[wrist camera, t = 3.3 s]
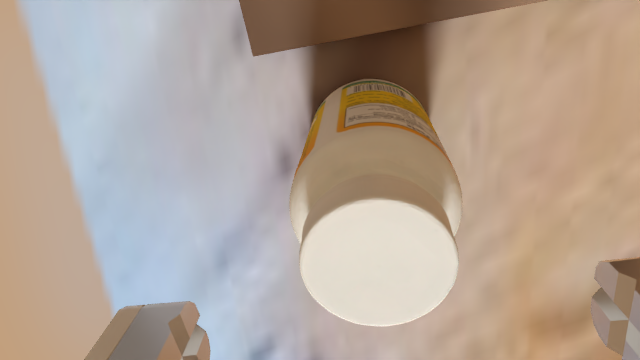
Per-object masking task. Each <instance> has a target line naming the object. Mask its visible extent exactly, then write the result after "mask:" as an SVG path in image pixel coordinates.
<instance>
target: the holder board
mask: <svg viewBox="0 0 640 360" xmlns="http://www.w3.org/2000/svg"><path fill="white" fill-rule="evenodd" d="M542 1H547V0H239V2H240V6H241V10H242V14H243V18H244V21H245V25H246V29H247V33H248V37H249V41H250V45H251V49H252V53H253V56H258V55H264V54H269V53H274V52H279V51H284V50H290V49H295V48H300V47H305V46H311V45H316V44H321V43H326V42H332V41H337V40H342V39H347V38H353V37H358V36H363V35H368V34H374V33H379V32H384V31H389V30H395V29H400V28H405V27H410V26H416V25H421V24H426V23H431V22H437V21H442V20H447V19H452V18H458V17H463V16H468V15H473V14H479V13H484V12H489V11H494V10H500V9H505V8H510V7H515V6H521V5H526V4H531V3H536V2H542Z"/></svg>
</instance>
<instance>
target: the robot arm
mask: <svg viewBox="0 0 640 360" xmlns="http://www.w3.org/2000/svg"><path fill="white" fill-rule="evenodd" d="M594 279H595V280H596V281H597V282H598V284H599V285H600V286H601V288H600V289H599V290H598V291H597V292H596V293H595V294H594V295H593V296H592V302H591V314H592V318H593V323H594V326H595V328H596V330H597V332H598V335H599V336H600V338H601V339H602V341H603V342H604V344H605V345H606V347H608V348H610V349H611V350H613V351H615V352H617V353H618V354H620V355H622V356H623V358H622V360H640V257H635V258H625V259H615V260H606V261H600V262H599V263H598V265H597V267H596V270H595V277H594ZM199 316H200V315H199V312H198V310H197V308H196V305H195V303H192V302H190V301H186V302H172V303H159V304H147V305H137V306H126V307H124V308H122V309H120V310H119V311H118V312H117V314H116V315H115V317H114V318H113V319H112V321H111V322H110V324H109V325H108V327H107V328H106V329H105V331H104V332H103V334H102V335H101V336H100V338H99V339H98V341H97V342H96V344H95V345H94V346H93V348H92V349H91V351H90V352H89V353H88V355H87V356H86V358H85V359H84V360H210V345H209V339H208V336H207V333H206V331H205V330H204V329H202V328H201V327H200V326H198V325H197V324H196V323H197V321H198V319H199Z"/></svg>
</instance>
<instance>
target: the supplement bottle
mask: <svg viewBox="0 0 640 360" xmlns="http://www.w3.org/2000/svg"><path fill="white" fill-rule="evenodd" d="M461 216H462V193H461V188H460V184H459V181H458V178H457V175H456V173H455V170H454V168H453V166H452V164H451V162H450V160H449V158H448V156H447V154H446V152H445V150H444V148H443V146H442V144H441V142H440V140H439V138H438V136H437V134H436V132H435V130H434V128H433V126H432V124H431V122H430V120H429V117H428V115H427V114H426V112H425V110H424V108H423V107H422V105H421V103H420V102H419V101H418V100H417V99H416V98H415V96H413V95H412V94H411V93H410V92H409V91H408V90H406V89H404V88H403V87H401V86H399V85H397V84H395V83H392V82H389V81H385V80H380V79H362V80H357V81H354V82H350V83H348V84H346V85H343V86H342V87H340V88H338V89H337V90H335V91H334V92H332V93H331V94H330V95H329V96H328V97H327V98H326V99H325V100H324V101H323V103H322V104H321V105H320V107H319V108H318V110H317V112H316V114H315V116H314V119H313V121H312V125H311V128H310V131H309V134H308V137H307V140H306V143H305V147H304V149H303V153H302V156H301V159H300V161H299V164H298V168H297V169H296V173H295V176H294V180H293V184H292V188H291V193H290V217H291V222H292V226H293V229H294V231H295V234H296V236H297V238H298V240H299V242H300V244H301V247H300V256H299V266H300V272H301V275H302V278H303V281H304V283H305V285H306V287H307V289H308V291H309V292H310V294H311V295H312V296H313V298H314V299H315V300H316V301H317V302H318V303H319V304H320V305H321V306H323V307H324V308H325V309H326V310H328V311H329V312H331V313H332V314H334V315H336V316H338V317H340V318H342V319H344V320H347V321H350V322H352V323H356V324H361V325H367V326H391V325H398V324H403V323H407V322H410V321H412V320H415V319H417V318H419V317H421V316H423V315H425V314H427V313H429V312H430V311H431V310H433V309H434V308H435V307H437V306H438V305H439V304H440V303H441V302H442V301H443V300H444V298H445V297H446V296H447V294H448V293H449V291H450V290H451V288H452V286H453V284H454V282H455V280H456V277H457V273H458V266H459V257H458V249H457V245H456V242H455V238H454V237H455V235H456V233H457V230H458V227H459V224H460V220H461Z"/></svg>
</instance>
